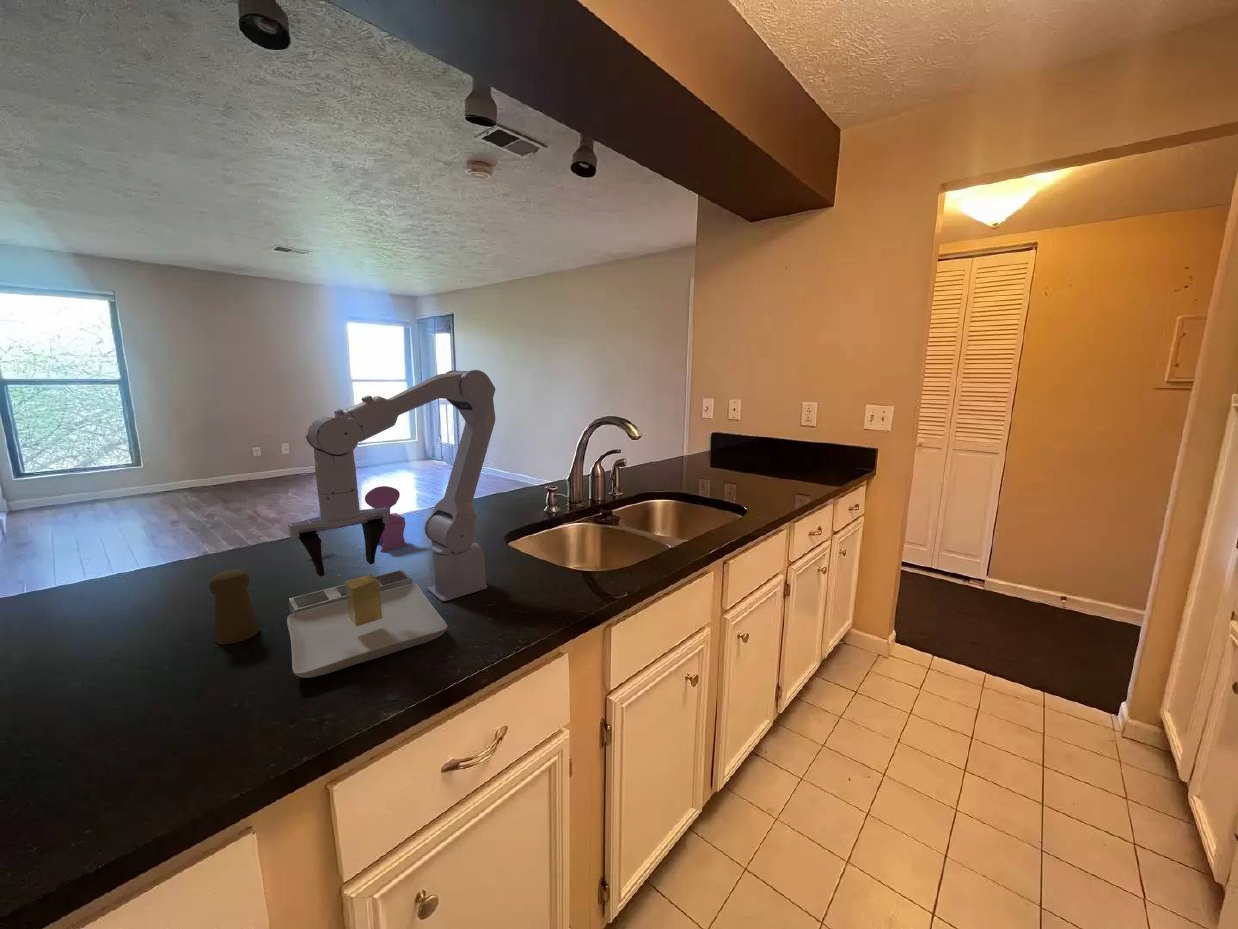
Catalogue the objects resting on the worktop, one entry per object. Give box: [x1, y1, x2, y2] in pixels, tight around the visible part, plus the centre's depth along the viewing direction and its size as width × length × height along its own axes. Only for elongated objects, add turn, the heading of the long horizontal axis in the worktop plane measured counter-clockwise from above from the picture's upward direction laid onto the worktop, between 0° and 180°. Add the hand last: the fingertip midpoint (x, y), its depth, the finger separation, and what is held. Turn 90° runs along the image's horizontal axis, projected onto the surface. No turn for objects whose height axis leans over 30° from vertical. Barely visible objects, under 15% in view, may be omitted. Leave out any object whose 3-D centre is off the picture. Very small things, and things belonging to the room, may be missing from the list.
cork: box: [208, 569, 261, 645], centre depth 80 cm, size 6×6×11 cm
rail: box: [288, 569, 413, 614], centre depth 93 cm, size 20×6×2 cm, turn 132°
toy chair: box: [364, 485, 408, 553], centre depth 123 cm, size 8×9×15 cm
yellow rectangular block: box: [344, 574, 383, 627], centre depth 80 cm, size 4×4×6 cm
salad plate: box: [286, 583, 449, 679], centre depth 80 cm, size 21×21×3 cm
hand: (346, 568), depth 82 cm, fingers open, 7 cm apart
